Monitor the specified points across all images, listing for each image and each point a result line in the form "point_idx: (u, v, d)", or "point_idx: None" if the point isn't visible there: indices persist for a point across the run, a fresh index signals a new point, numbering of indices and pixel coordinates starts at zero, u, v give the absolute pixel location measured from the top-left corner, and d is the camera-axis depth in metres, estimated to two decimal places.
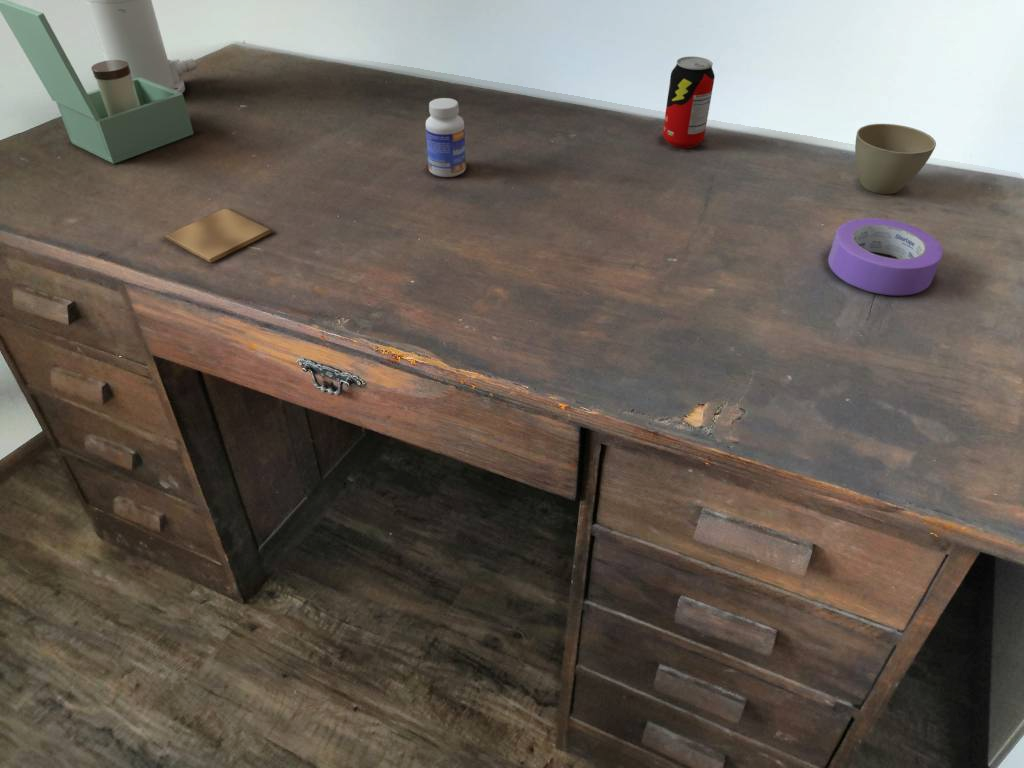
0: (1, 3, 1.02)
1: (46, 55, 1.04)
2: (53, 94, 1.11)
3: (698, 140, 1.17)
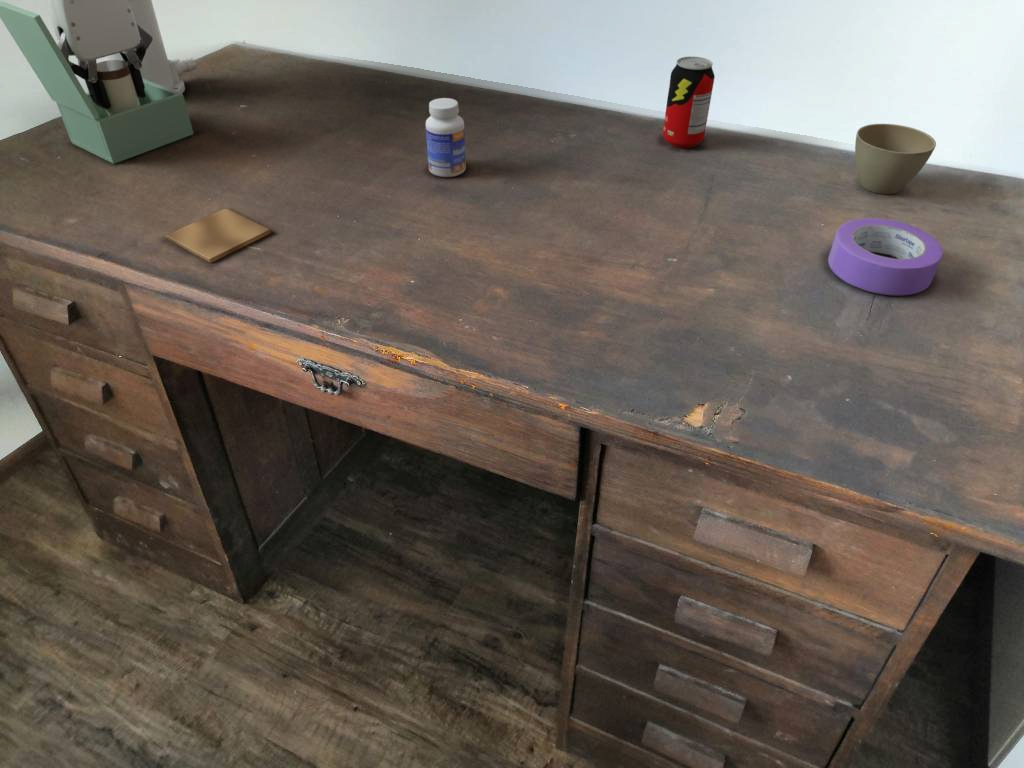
0: None
1: (44, 56, 1.04)
2: (53, 94, 1.11)
3: (698, 140, 1.17)
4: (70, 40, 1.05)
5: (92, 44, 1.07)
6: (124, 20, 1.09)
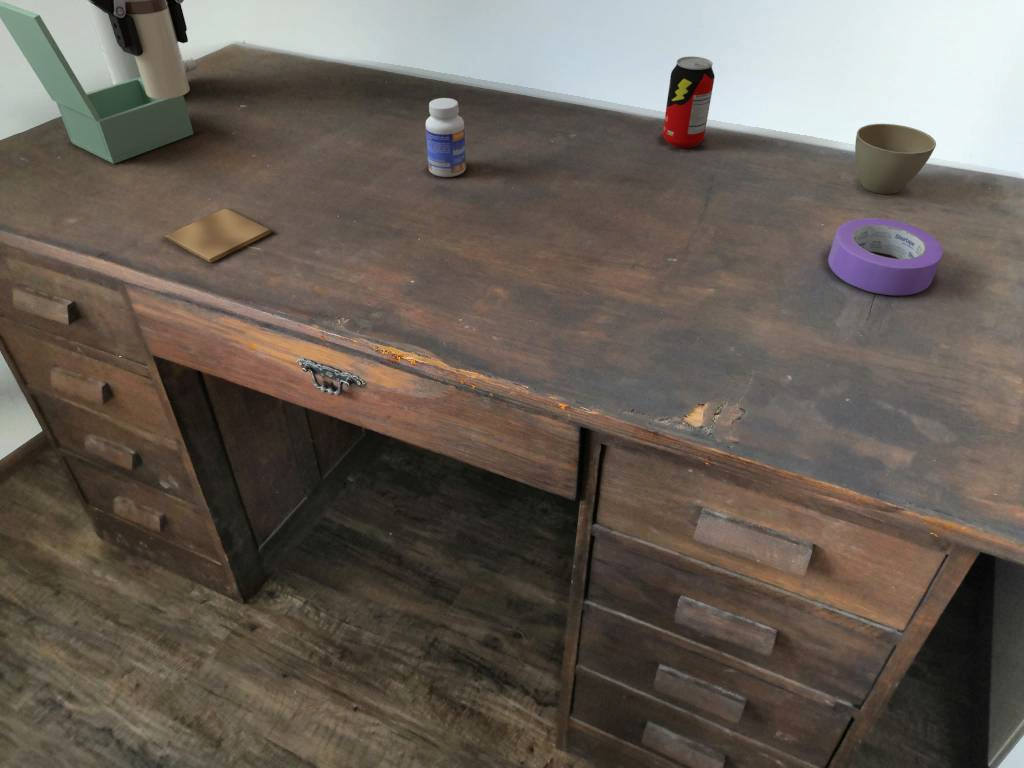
0: None
1: (44, 56, 1.04)
2: (53, 94, 1.11)
3: (698, 140, 1.17)
4: None
5: None
6: None
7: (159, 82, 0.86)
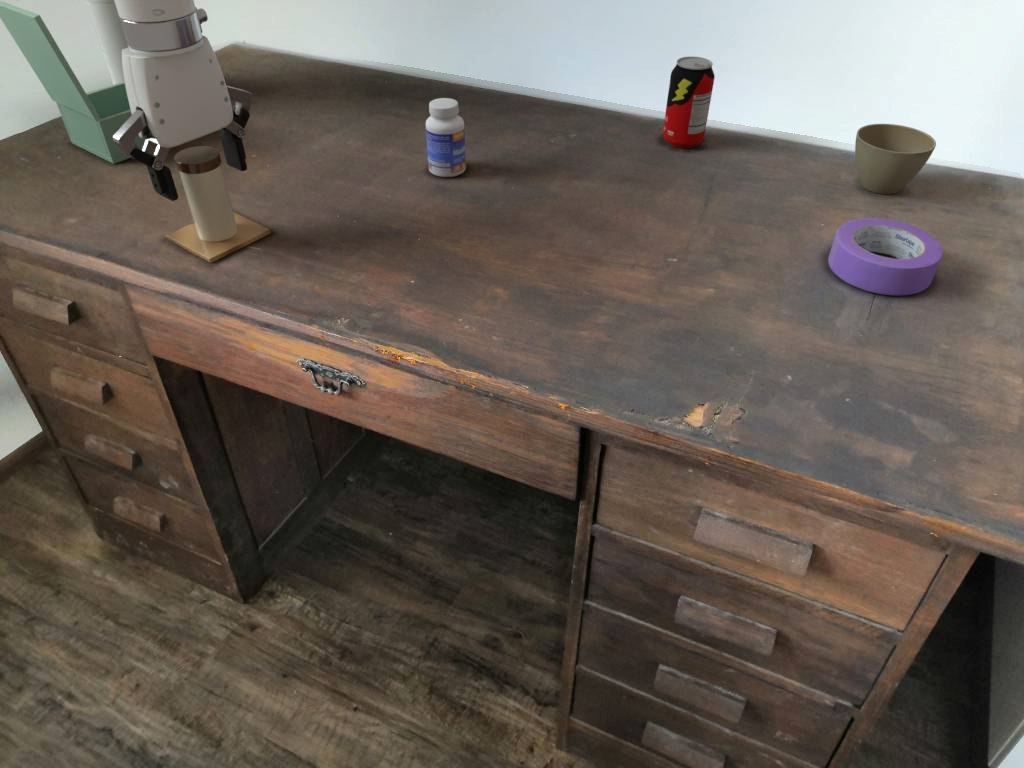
0: None
1: (44, 56, 1.04)
2: (53, 94, 1.11)
3: (698, 140, 1.17)
4: (153, 124, 0.83)
5: (178, 127, 0.85)
6: (216, 95, 0.87)
7: (211, 228, 0.94)
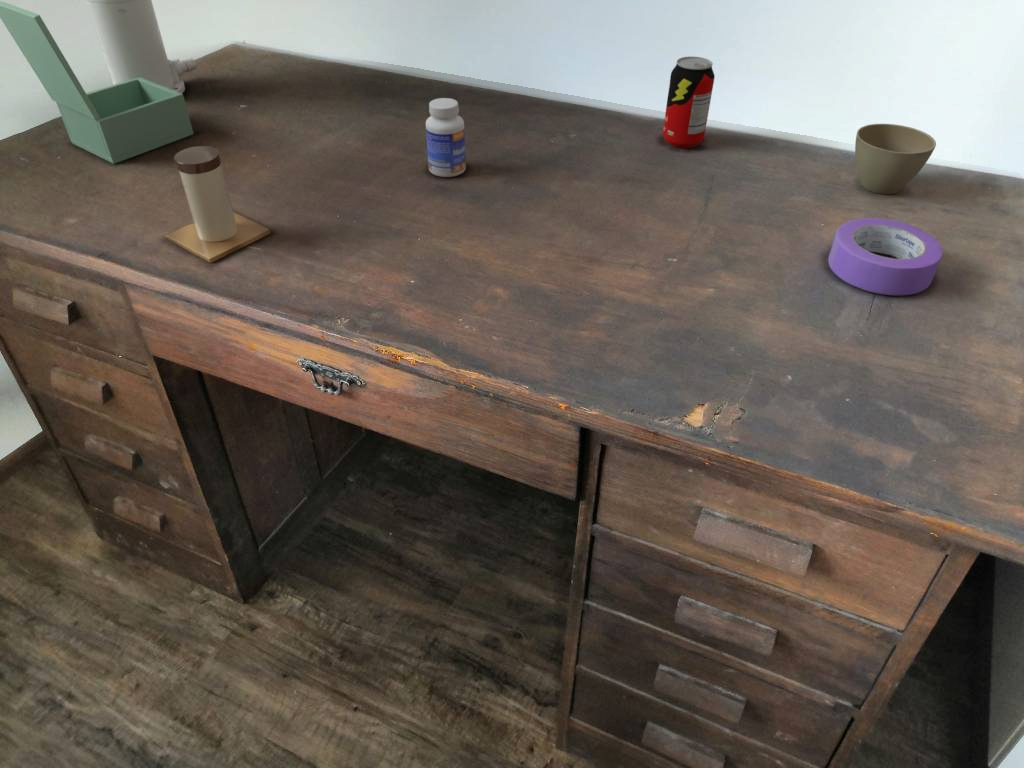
0: None
1: (44, 56, 1.04)
2: (53, 94, 1.11)
3: (698, 140, 1.17)
4: None
5: None
6: None
7: (211, 228, 0.94)
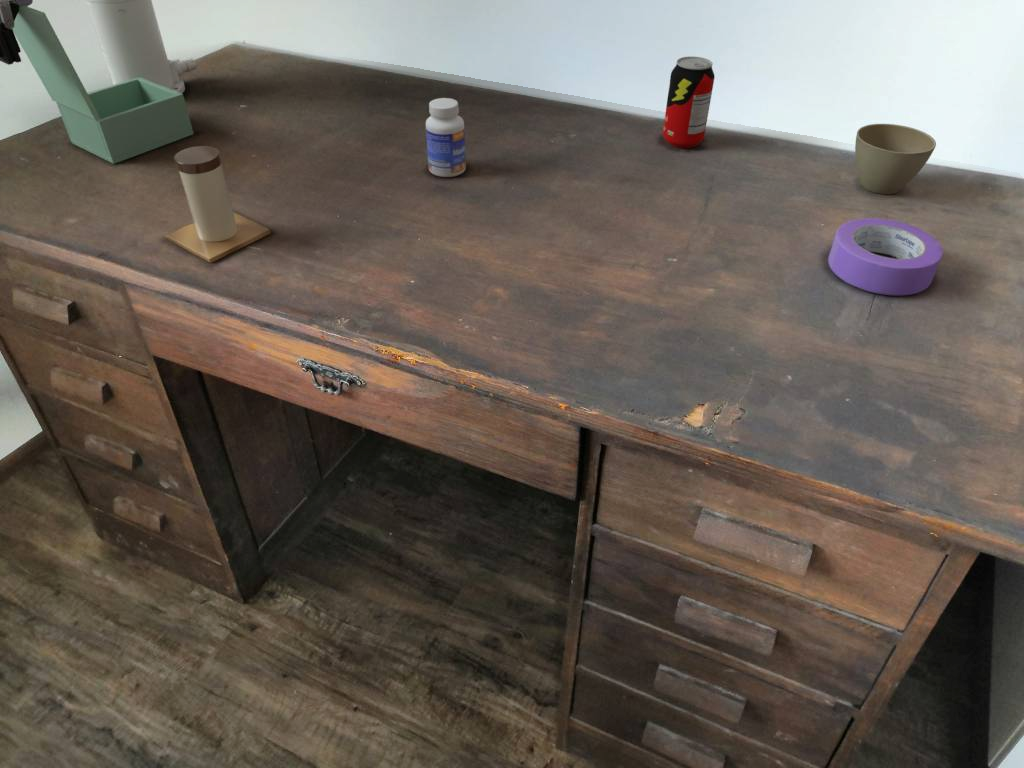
0: None
1: (47, 55, 1.04)
2: (53, 94, 1.11)
3: (698, 140, 1.17)
4: None
5: None
6: None
7: (211, 228, 0.94)
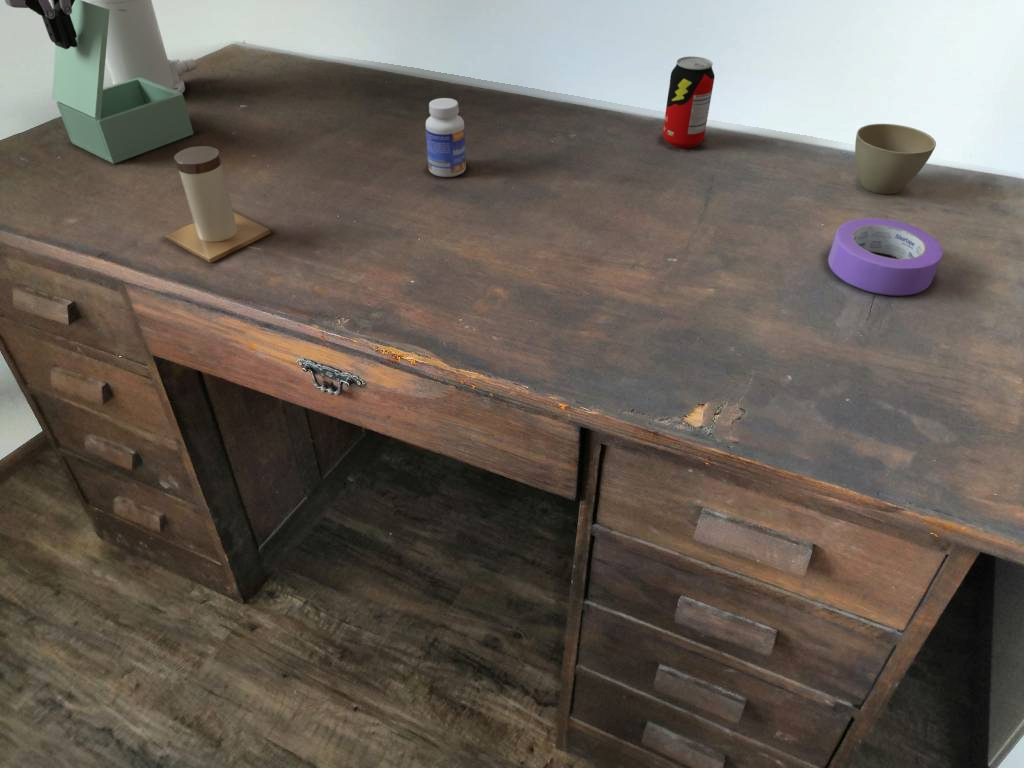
0: None
1: (82, 49, 1.07)
2: (58, 91, 1.12)
3: (698, 140, 1.17)
4: None
5: None
6: None
7: (211, 228, 0.94)
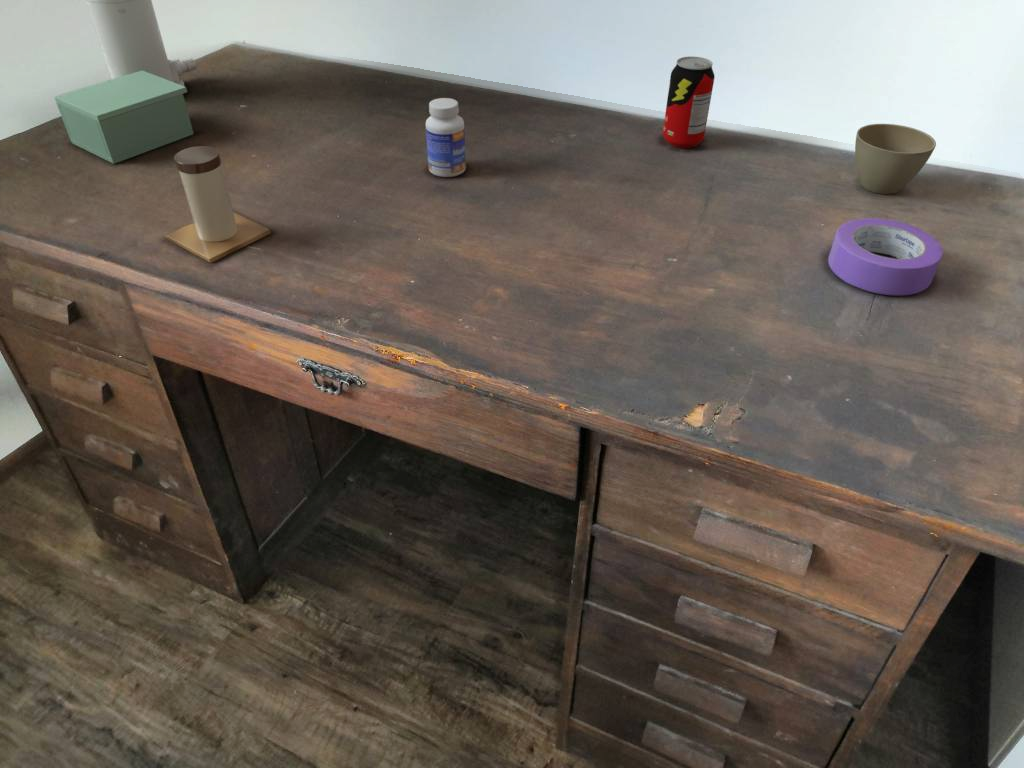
0: (148, 73, 1.21)
1: (133, 91, 1.15)
2: (69, 96, 1.13)
3: (698, 140, 1.17)
4: None
5: None
6: None
7: (211, 228, 0.94)
